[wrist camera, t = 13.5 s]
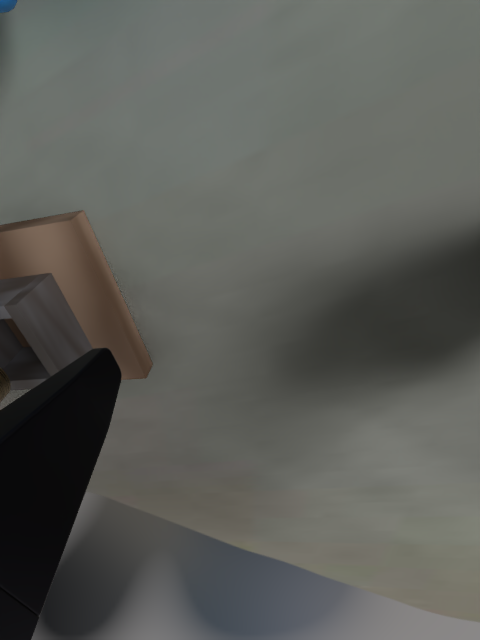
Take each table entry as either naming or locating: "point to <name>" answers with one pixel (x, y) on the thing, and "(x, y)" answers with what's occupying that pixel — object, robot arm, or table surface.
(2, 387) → the bronze post
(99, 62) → the table surface
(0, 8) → the alarm clock
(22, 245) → the post stand
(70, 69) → the table surface
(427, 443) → the table surface
